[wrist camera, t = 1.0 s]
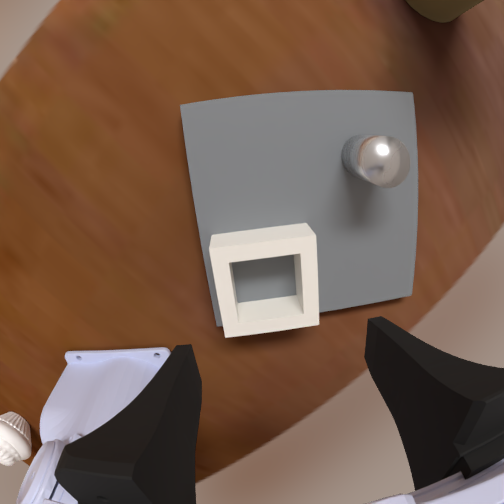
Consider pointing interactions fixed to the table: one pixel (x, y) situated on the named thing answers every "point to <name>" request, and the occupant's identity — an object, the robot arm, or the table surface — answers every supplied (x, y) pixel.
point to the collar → (276, 309)
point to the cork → (442, 8)
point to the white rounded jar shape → (14, 438)
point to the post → (376, 159)
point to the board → (305, 190)
